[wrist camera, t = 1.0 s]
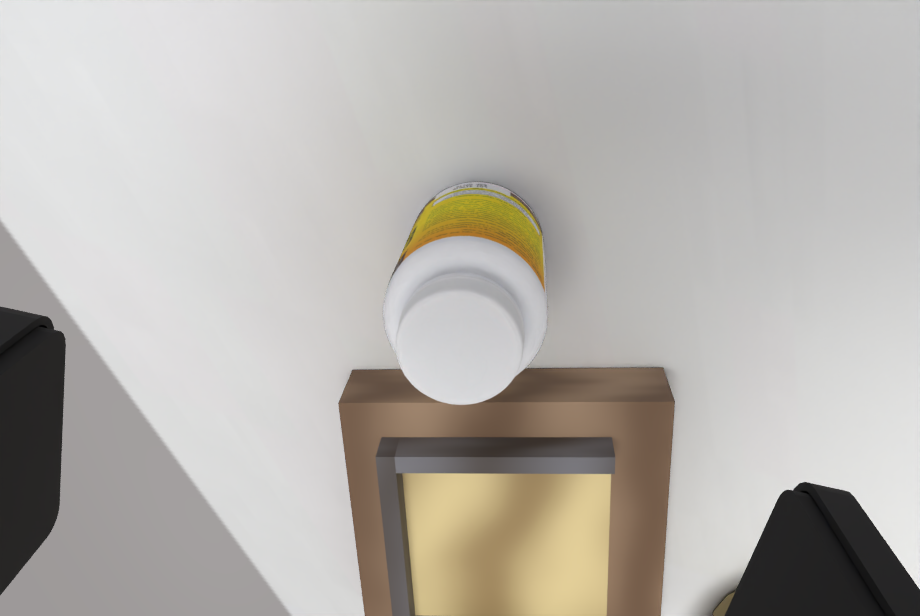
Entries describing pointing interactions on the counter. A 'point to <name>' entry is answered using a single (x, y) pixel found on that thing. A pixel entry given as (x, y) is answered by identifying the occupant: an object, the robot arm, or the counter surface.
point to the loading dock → (511, 494)
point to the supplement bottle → (468, 294)
